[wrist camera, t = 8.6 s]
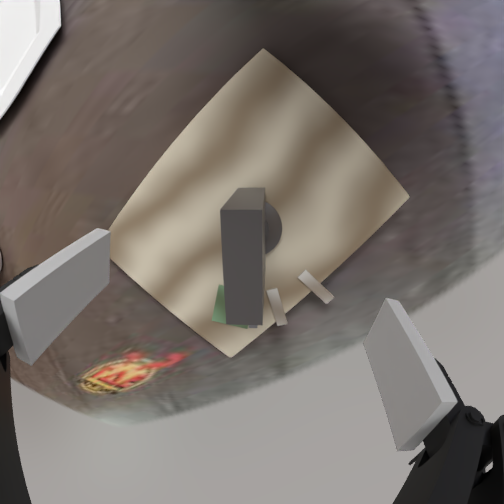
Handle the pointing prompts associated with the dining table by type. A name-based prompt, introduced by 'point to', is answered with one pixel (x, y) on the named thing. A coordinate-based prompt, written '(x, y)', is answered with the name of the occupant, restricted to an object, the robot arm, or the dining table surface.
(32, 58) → the plate
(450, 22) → the dining table surface
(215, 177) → the board
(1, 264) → the pill bottle
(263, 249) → the grey rectangular block
